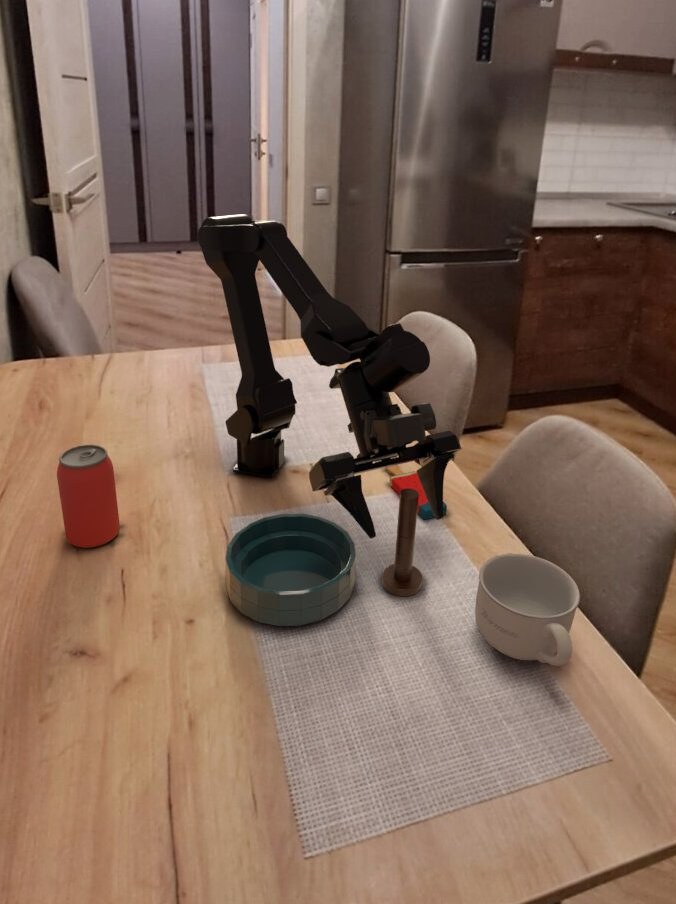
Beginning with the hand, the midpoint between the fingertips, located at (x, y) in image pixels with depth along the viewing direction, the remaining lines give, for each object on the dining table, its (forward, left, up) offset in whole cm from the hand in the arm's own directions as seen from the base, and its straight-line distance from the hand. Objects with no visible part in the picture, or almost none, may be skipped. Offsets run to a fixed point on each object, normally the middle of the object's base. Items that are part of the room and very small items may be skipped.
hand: (407, 528), depth 79 cm
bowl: (-13, -4, -8) cm, 16 cm away
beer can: (-41, -2, -8) cm, 42 cm away
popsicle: (-3, +21, -8) cm, 23 cm away
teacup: (+15, -7, -8) cm, 18 cm away
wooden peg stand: (0, 0, -8) cm, 8 cm away
